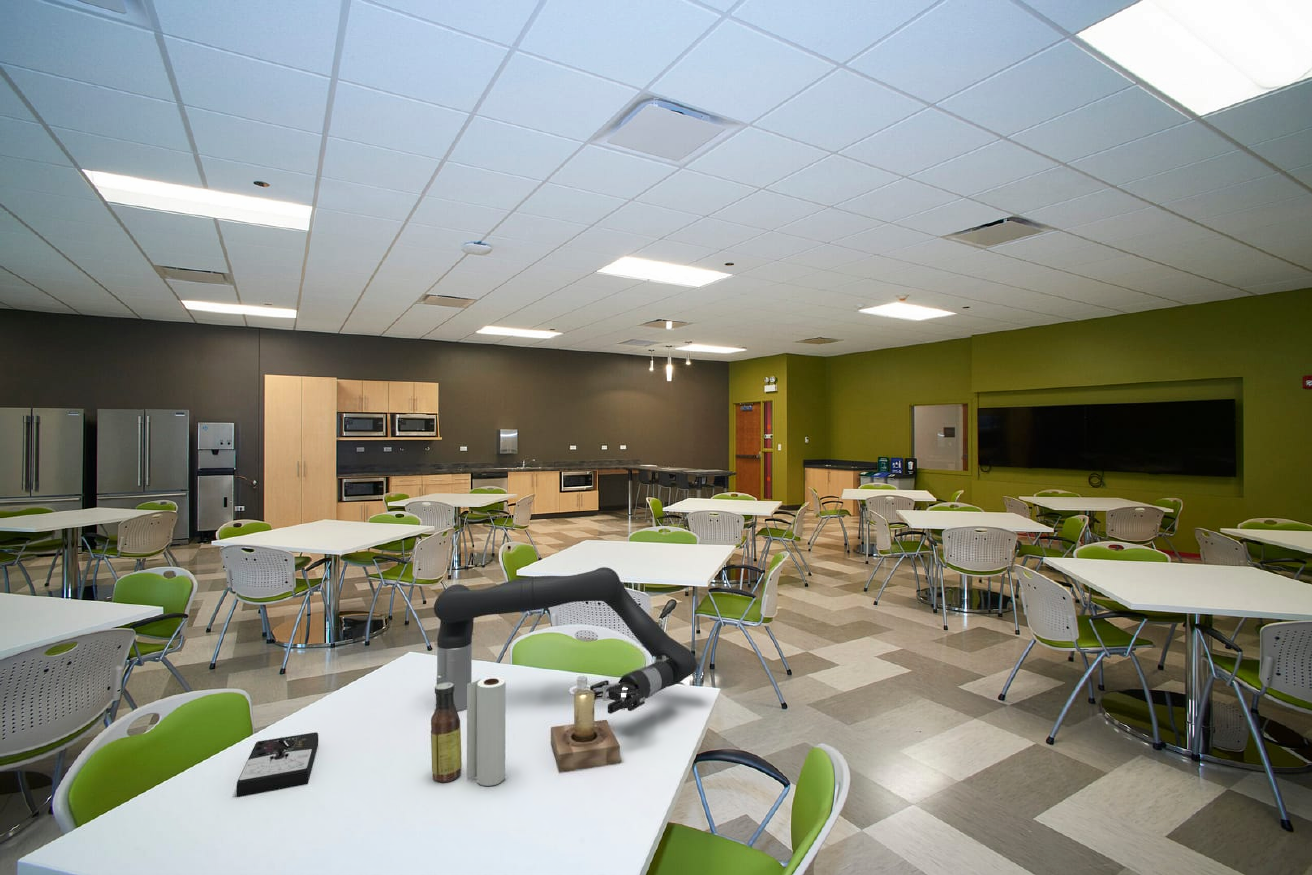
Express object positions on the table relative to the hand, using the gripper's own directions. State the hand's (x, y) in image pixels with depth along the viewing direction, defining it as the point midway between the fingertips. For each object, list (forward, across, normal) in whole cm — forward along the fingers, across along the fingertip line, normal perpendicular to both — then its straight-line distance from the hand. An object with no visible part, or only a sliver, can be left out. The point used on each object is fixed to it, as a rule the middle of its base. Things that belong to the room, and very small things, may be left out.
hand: (596, 704), depth 149 cm
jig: (+4, 0, +10) cm, 11 cm away
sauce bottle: (+30, -16, +10) cm, 36 cm away
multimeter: (+53, -47, +10) cm, 72 cm away
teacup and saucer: (-19, -28, +11) cm, 35 cm away
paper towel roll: (+25, -8, +10) cm, 28 cm away
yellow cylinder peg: (+4, 0, +10) cm, 11 cm away
